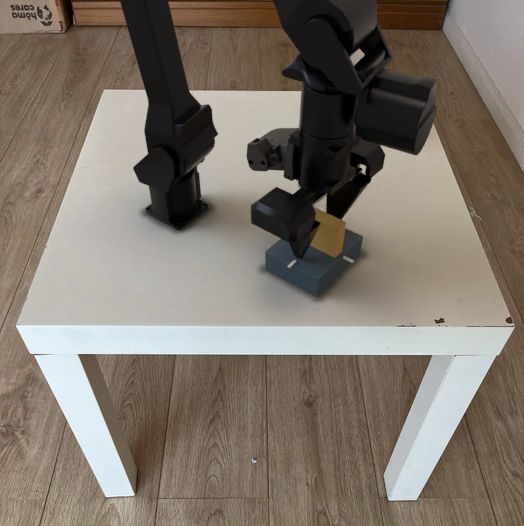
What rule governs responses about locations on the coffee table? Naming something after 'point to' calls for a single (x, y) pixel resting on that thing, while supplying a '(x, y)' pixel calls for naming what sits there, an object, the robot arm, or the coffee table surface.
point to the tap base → (312, 263)
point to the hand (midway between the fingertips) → (315, 242)
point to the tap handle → (329, 234)
